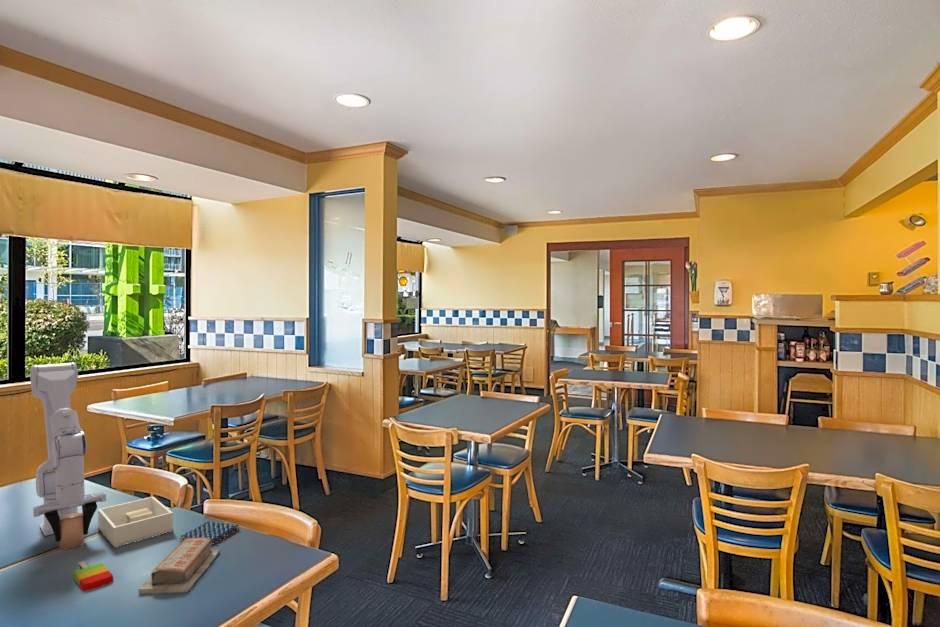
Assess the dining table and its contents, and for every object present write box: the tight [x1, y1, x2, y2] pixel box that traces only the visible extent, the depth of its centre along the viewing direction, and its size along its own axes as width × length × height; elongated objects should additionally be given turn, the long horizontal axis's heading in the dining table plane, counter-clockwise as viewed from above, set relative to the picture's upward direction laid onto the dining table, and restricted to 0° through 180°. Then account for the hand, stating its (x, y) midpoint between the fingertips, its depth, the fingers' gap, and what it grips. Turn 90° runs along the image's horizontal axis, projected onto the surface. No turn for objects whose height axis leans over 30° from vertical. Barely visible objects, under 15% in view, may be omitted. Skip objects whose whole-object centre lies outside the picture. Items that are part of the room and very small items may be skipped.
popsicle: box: [72, 561, 114, 592], centre depth 120 cm, size 6×15×2 cm, turn 48°
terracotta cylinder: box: [58, 512, 85, 550], centre depth 135 cm, size 5×5×7 cm
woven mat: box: [179, 521, 240, 546], centre depth 140 cm, size 10×11×2 cm
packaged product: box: [138, 537, 221, 595], centre depth 121 cm, size 18×5×10 cm
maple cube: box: [125, 508, 153, 524], centre depth 141 cm, size 5×5×5 cm
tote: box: [97, 496, 174, 548], centre depth 143 cm, size 17×13×5 cm
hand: (71, 536), depth 135 cm, fingers closed on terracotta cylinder, 5 cm apart
